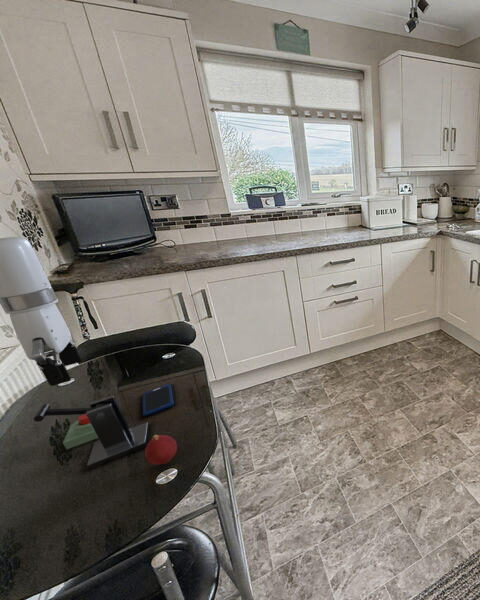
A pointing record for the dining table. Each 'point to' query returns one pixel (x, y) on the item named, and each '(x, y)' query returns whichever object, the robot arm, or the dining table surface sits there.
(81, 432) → the button housing
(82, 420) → the red button
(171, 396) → the cell phone
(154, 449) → the onion
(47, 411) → the press lever
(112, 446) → the lever bracket
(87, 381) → the dining table surface
